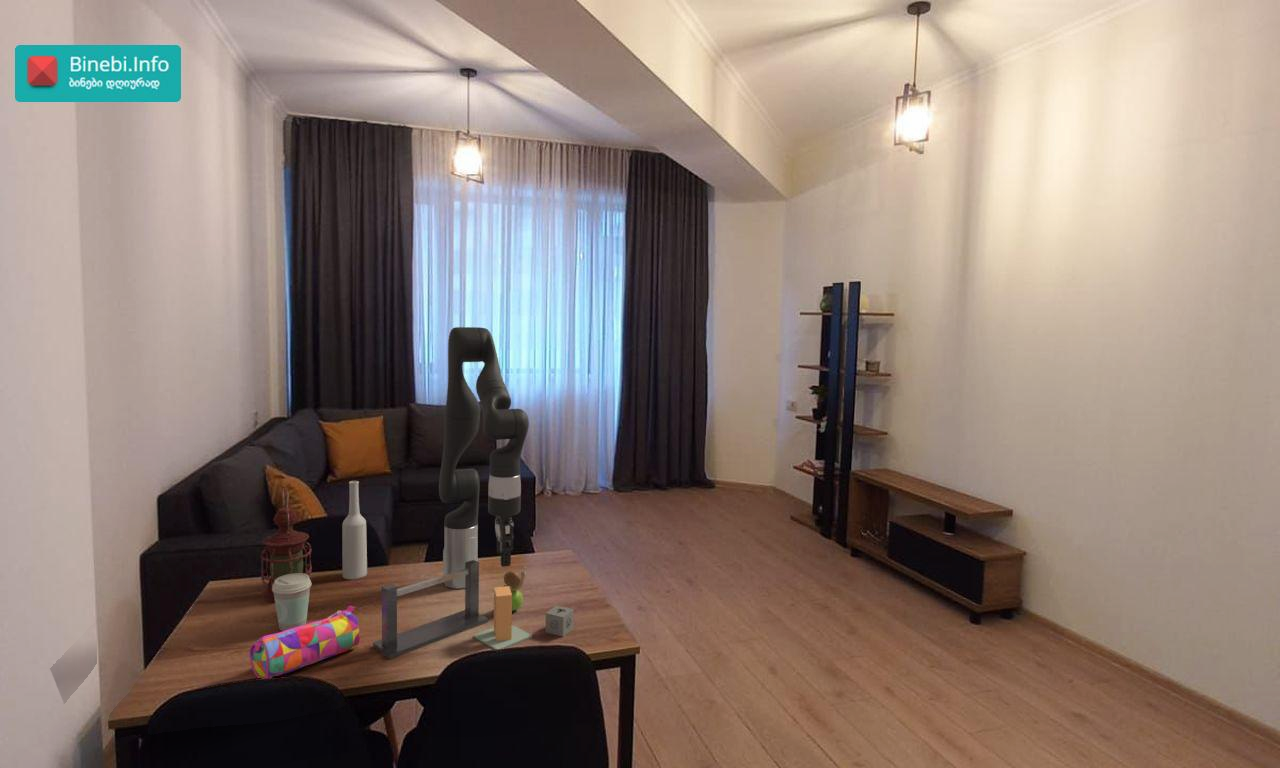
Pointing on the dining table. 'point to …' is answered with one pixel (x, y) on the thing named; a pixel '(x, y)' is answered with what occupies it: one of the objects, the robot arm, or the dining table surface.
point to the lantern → (284, 549)
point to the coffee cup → (291, 599)
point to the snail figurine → (515, 587)
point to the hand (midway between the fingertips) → (503, 559)
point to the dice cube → (559, 620)
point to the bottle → (354, 538)
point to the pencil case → (304, 644)
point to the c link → (502, 613)
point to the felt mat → (490, 640)
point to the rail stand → (436, 629)
